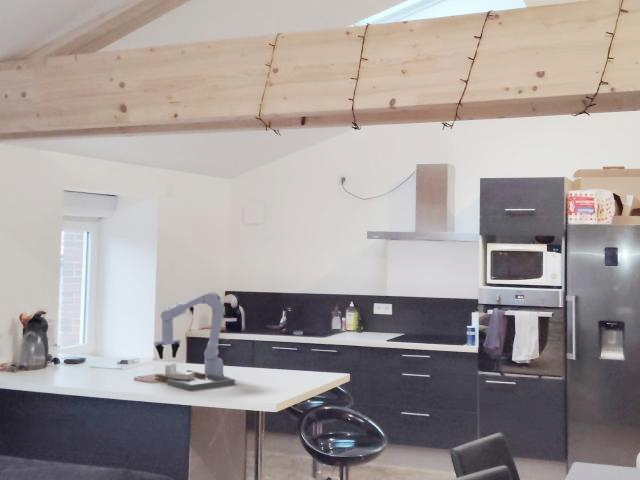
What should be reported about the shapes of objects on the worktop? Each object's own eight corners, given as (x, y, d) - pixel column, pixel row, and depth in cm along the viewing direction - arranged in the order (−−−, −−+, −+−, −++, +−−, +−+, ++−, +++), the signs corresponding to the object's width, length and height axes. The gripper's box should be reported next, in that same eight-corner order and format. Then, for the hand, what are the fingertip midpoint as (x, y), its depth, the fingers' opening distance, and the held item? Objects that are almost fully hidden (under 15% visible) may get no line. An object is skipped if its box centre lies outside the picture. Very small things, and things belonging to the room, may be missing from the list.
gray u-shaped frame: (210, 378, 396) (210, 373, 396) (234, 384, 378) (234, 379, 378) (167, 384, 379) (167, 379, 379) (190, 390, 362) (190, 385, 362)
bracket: (165, 380, 393) (165, 365, 393) (171, 377, 400) (171, 363, 400) (187, 381, 389) (187, 366, 389) (194, 379, 396) (194, 364, 396)
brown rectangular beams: (189, 374, 407) (189, 370, 407) (205, 378, 395) (205, 374, 395) (155, 379, 394) (155, 374, 394) (170, 383, 382) (170, 378, 382)
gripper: (175, 330, 412) (175, 356, 412) (151, 332, 403) (151, 358, 402) (182, 331, 407) (182, 357, 407) (158, 334, 397) (158, 360, 397)
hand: (167, 358), depth 404 cm, fingers open, 7 cm apart
